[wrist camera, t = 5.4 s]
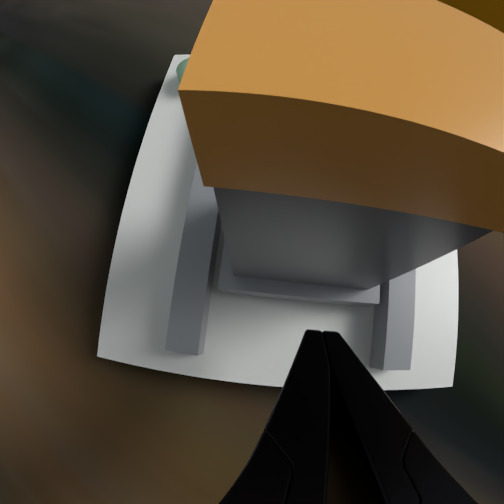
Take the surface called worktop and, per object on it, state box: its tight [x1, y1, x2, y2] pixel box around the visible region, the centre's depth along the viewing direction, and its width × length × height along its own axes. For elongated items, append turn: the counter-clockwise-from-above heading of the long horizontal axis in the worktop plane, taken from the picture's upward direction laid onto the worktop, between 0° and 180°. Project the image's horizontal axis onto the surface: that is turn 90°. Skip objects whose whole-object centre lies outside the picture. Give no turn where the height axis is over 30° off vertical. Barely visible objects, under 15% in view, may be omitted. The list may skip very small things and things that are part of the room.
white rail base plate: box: [97, 55, 458, 390], centre depth 14 cm, size 17×16×4 cm
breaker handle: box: [178, 0, 504, 307], centre depth 8 cm, size 4×6×10 cm, turn 83°
